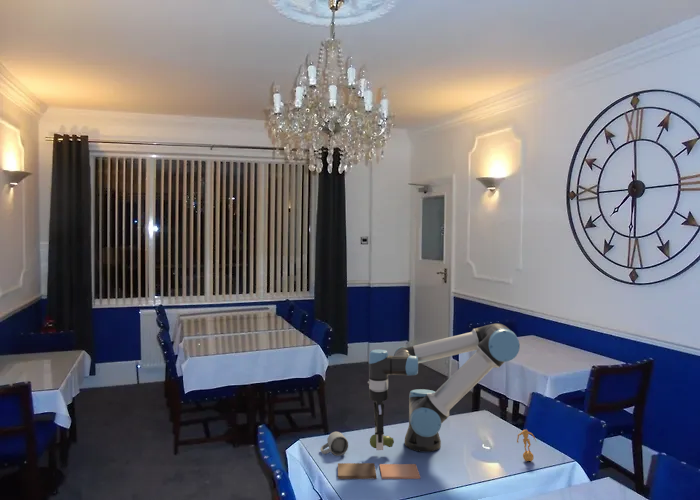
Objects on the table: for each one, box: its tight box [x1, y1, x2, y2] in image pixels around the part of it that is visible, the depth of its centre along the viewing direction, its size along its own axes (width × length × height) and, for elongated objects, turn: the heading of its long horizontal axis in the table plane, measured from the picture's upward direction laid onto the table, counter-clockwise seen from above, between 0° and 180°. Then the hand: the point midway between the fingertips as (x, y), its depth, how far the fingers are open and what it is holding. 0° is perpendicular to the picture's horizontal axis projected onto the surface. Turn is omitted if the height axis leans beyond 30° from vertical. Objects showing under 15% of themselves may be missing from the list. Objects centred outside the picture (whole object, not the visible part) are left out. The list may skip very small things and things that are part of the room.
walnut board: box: [337, 462, 377, 480], centre depth 194 cm, size 14×10×1 cm
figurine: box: [516, 429, 537, 462], centre depth 206 cm, size 8×6×12 cm
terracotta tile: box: [379, 463, 421, 480], centre depth 194 cm, size 14×10×1 cm
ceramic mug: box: [320, 431, 349, 456], centre depth 211 cm, size 11×8×8 cm
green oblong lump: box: [369, 433, 395, 449], centre depth 208 cm, size 6×5×10 cm
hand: (379, 446), depth 208 cm, fingers closed on green oblong lump, 6 cm apart
